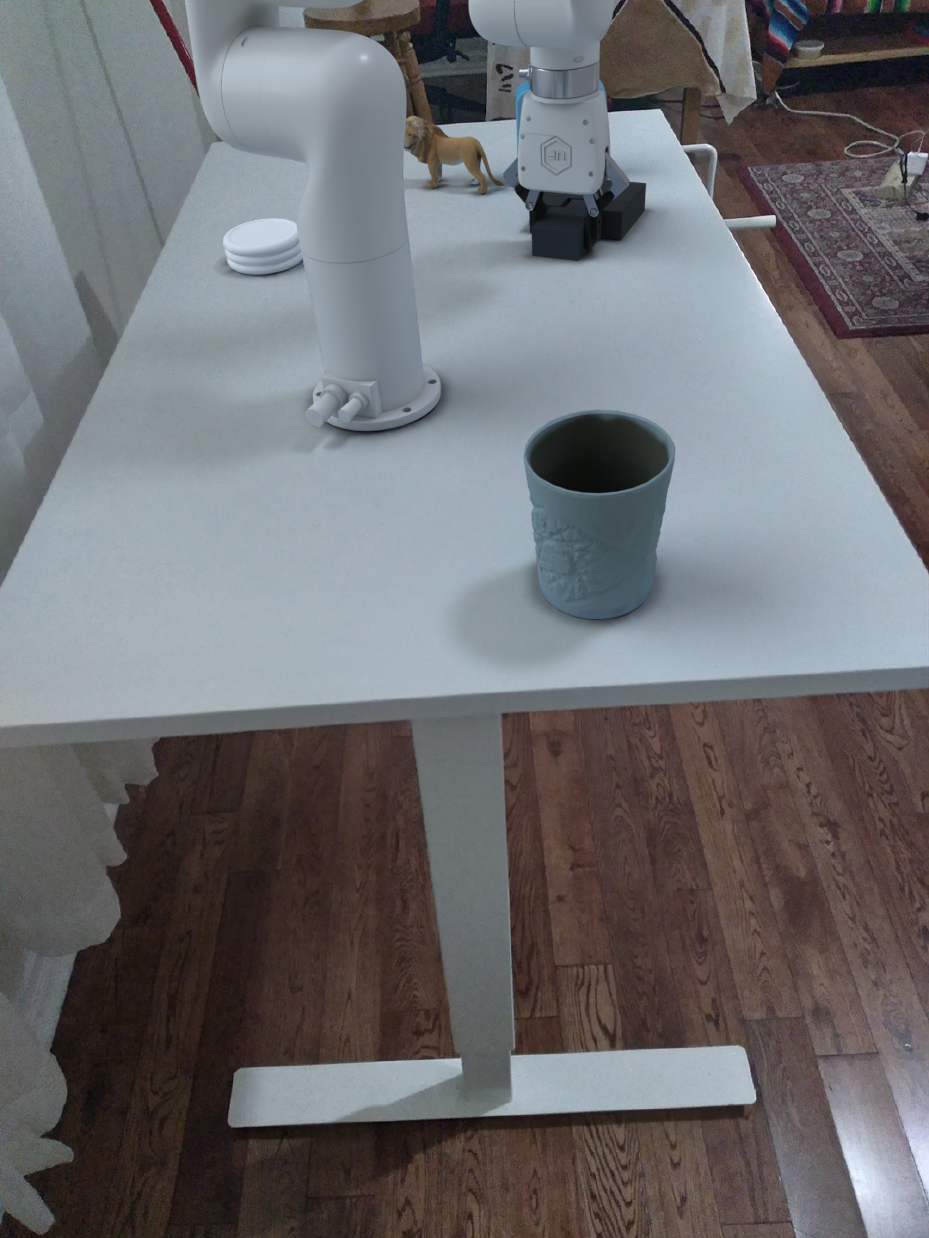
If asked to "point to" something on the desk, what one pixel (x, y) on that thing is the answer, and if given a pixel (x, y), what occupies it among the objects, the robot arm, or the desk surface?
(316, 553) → the desk surface
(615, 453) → the embossed blue-grey cup
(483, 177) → the lion figurine
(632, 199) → the notch pad
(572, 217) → the pad
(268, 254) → the coaster
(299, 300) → the desk surface
